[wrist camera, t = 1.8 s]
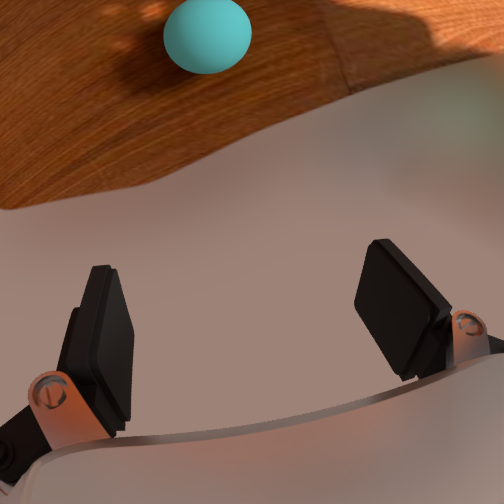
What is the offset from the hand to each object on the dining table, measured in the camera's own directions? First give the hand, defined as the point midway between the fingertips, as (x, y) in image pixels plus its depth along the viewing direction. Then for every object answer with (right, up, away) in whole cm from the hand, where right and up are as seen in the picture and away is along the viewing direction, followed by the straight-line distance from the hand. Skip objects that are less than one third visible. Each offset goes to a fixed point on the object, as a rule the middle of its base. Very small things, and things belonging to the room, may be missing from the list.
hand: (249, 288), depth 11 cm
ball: (-3, +16, +7) cm, 18 cm away
